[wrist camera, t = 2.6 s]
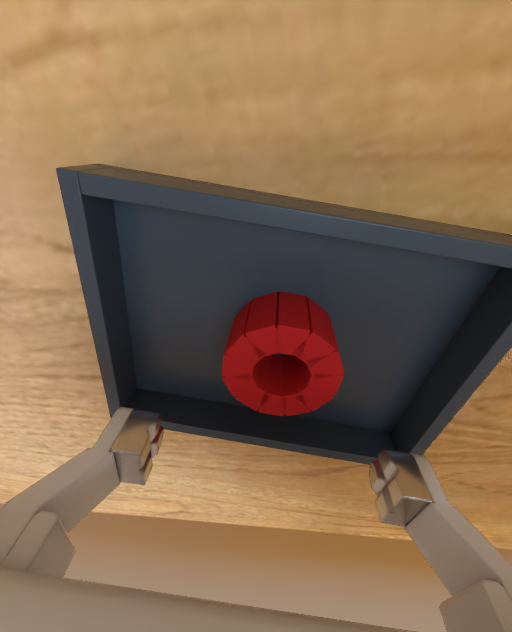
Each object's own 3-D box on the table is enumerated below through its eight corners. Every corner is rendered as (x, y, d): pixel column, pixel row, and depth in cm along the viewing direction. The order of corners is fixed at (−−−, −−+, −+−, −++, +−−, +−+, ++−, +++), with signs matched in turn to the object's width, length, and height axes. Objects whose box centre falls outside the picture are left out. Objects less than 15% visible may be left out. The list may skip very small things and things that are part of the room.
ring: (346, 302, 14) (361, 339, 12) (317, 380, 17) (323, 423, 15) (238, 283, 14) (227, 316, 12) (228, 364, 17) (217, 405, 15)
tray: (529, 237, 12) (585, 259, 10) (394, 434, 20) (408, 471, 18) (97, 163, 12) (55, 167, 10) (130, 389, 20) (111, 420, 18)
